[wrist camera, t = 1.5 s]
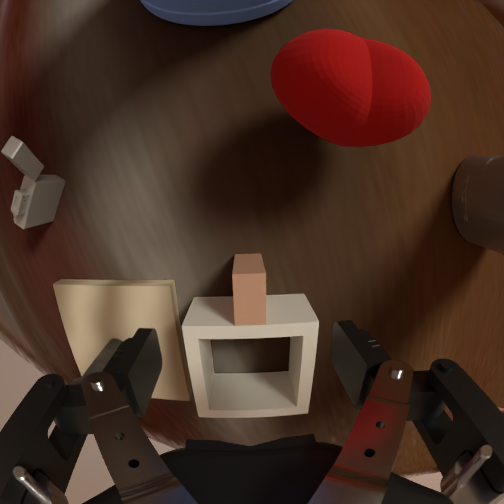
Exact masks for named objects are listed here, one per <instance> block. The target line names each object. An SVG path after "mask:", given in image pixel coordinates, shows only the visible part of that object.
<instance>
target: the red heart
mask: <svg viewBox="0 0 504 504" xmlns="http://www.w3.org/2000/svg"><path fill="white" fill-rule="evenodd" d="M271 82H272V87H273V89H274V92H275V94H276V96H277V98H278V100H279V101H280V103H281V104H282V106H283V107H284V108H285V110H286V111H287V112H288V113H289V114H290V115H291V116H292V117H293V118H294V119H295V120H296V121H297V122H299V123H300V124H301V125H302V126H304V127H305V128H306V129H308V130H309V131H311V132H312V133H314V134H315V135H317V136H319V137H321V138H323V139H325V140H327V141H329V142H332V143H335V144H338V145H340V146H350V147H364V146H375V145H380V144H385V143H389V142H393V141H395V140H397V139H400V138H402V137H404V136H406V135H408V134H410V133H411V132H412V131H414V130H415V129H416V128H417V127H419V126H420V124H421V123H422V122H423V120H424V119H425V117H426V116H427V113H428V111H429V108H430V103H431V92H430V88H429V83H428V81H427V79H426V76H425V74H424V72H423V71H422V69H421V68H420V66H419V65H418V64H417V63H416V62H415V61H414V60H413V59H412V58H411V57H410V56H409V55H408V54H406V53H404V52H403V51H401V50H400V49H398V48H396V47H394V46H391V45H389V44H386V43H383V42H380V41H377V40H373V39H366V38H360V37H358V36H356V35H354V34H352V33H349V32H346V31H342V30H336V29H319V30H313V31H308V32H306V33H303V34H301V35H299V36H297V37H295V38H293V39H292V40H290V41H289V42H288V43H287V44H286V45H284V46H283V47H282V48H281V49H280V51H279V52H278V54H277V55H276V57H275V59H274V61H273V64H272V68H271Z"/></svg>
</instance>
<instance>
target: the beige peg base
mask: <svg viewBox="0 0 504 504" xmlns="http://www.w3.org/2000/svg"><path fill="white" fill-rule="evenodd" d="M53 287H54V291H55V295H56V299H57V303H58V307H59V311H60V315H61V318H62V322H63V325H64V328H65V331H66V335H67V338H68V341H69V344H70V347H71V349H72V352H73V355H74V358H75V360H76V363H77V366H78V368H79V371H80V373H81V376H82V377H80V378H76V379H74V380H73V381H71V383H70V384H69V385H76V384H81V383H82V380H83V379H84V378H85V377H86V376H88V375H89V374H91V373H95V372H102V370H103V369H104V367H105V366H106V364H107V363H108V361H109V360H110V358H111V357H112V356H113V354H114V352H115V351H117V348H118V347H119V345H120V344H121V343H122V342H123V341H125V340H126V339H128V338H132V337H133V336H134V334H135V333H136V331H137V330H138V328H155V329H156V331H157V335H158V340H159V345H160V350H161V354H162V362H163V363H162V370H161V373H160V375H159V378H158V381H157V383H156V386H155V389H154V391H153V394H152V397H151V398H158V399H169V400H182V401H190V399H191V394H192V388H191V383H190V378H189V373H188V367H187V362H186V356H185V350H184V344H183V338H182V332H181V325H180V318H179V311H178V304H177V296H176V288H175V280H75V279H61V280H59V281H58V282H56V283H54V284H53Z"/></svg>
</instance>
